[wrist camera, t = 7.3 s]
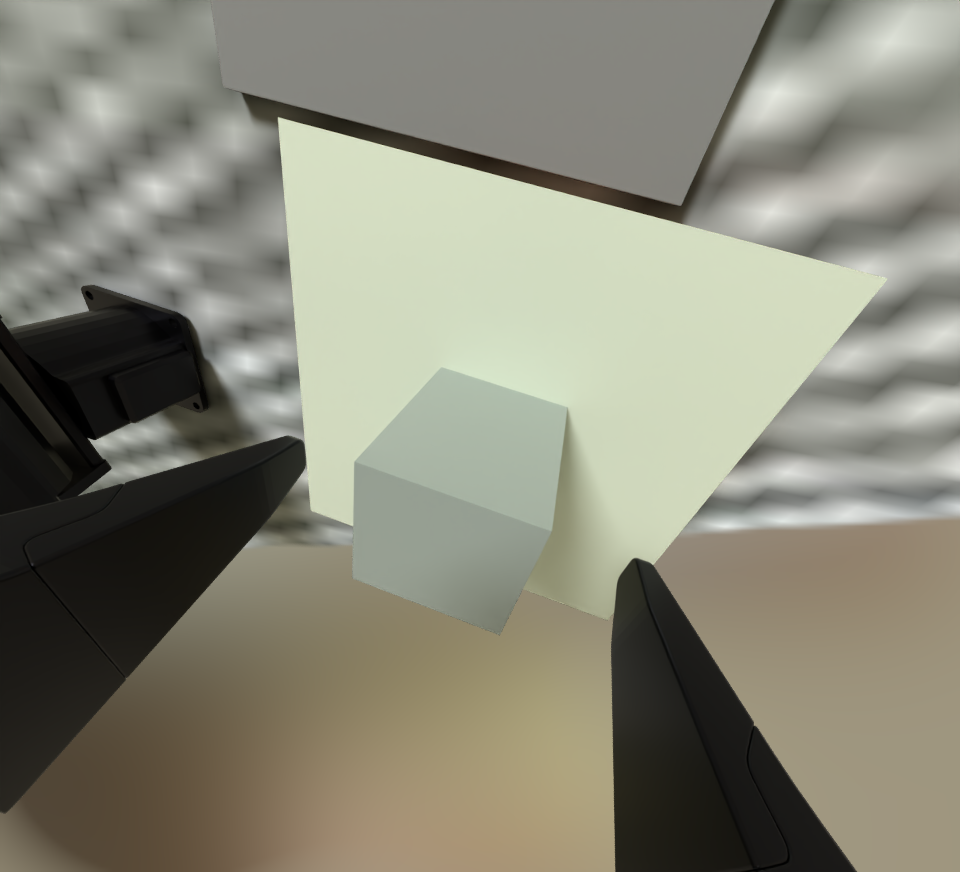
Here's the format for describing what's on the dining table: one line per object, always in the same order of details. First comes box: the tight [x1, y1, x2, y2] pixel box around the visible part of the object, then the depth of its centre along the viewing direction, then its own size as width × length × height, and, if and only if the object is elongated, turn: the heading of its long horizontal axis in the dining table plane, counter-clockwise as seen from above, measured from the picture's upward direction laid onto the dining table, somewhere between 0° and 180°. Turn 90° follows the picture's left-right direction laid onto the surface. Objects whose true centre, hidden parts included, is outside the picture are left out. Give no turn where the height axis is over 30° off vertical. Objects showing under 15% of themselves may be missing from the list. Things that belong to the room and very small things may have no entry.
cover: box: [278, 117, 887, 635], centre depth 11 cm, size 14×14×6 cm
